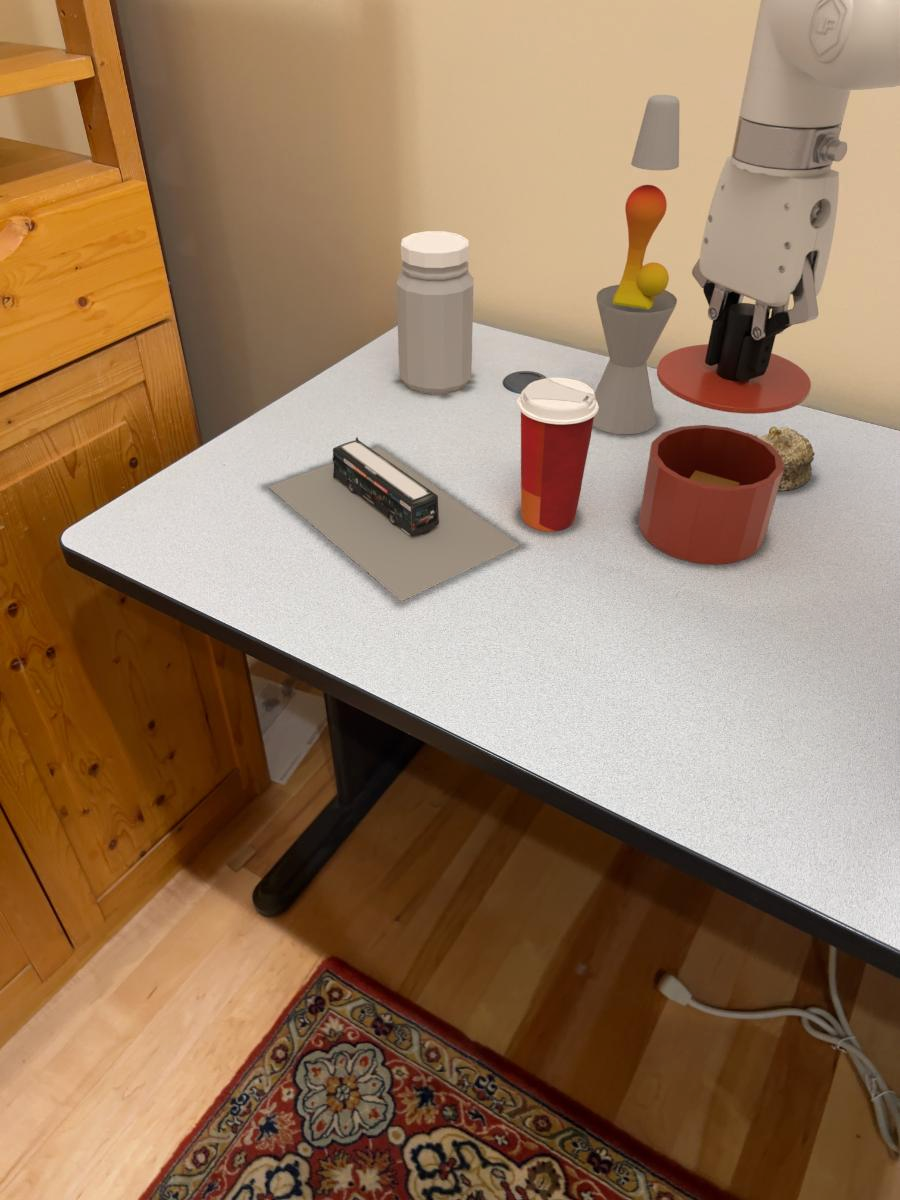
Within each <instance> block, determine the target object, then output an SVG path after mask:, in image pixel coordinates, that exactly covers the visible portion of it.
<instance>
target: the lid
mask: <svg viewBox="0 0 900 1200" xmlns="http://www.w3.org/2000/svg"><path fill="white" fill-rule="evenodd" d="M754 309H755V303H751V302H750V303H749V302H742V303H737V304H733V305H731V306H730V309H729V313H728V318H727V323H726V328H725V332H724V337H723V342H722V347H721V352H720V356H719V361H718V364H716V365H712V366H710V365H708V364H706V363H705V359H706V354H707V349H708V343H707V344H696V345H688V346H685V347H681V348H678V349H675V350H673V351H670V352H668V353H667V354H665V355H664V356H663V357H662V358H660V360H659V362H658V364H657V369H656V376H657V380H658V381H659V384H661V385H662V387H663V388H664V389H665V390H667V391H668V392H669V393H670V394H672V395H674V396H676V397H677V398H679V399H681V400H684V401H685V402H688V403H690V404H693V405H696V406H699V407H702V408H706V409H709V410H715V411H720V412H726V413H731V414H747V415H750V414H751V415H756V414H769V413H770V414H771V413H776V412H783V411H786V410H790V409H792V408H794V407H797V406H798V405H801V404H802V403H804V401H805V400H807V398H808V397H809V395H810V392H811V388H812V381H811V378H810V377H809V375H808V373H807V372H806V371H805V370H804V369H803V368H802V367H800V366H799V365H798V364H796V363H794V362H793V361H791V360H789V359H787V358H785V357H783V356H781V355H778V354H775V353H773V352H771V357H770V361H769V365H768V367H767V369H766V372H765V373H764V375H762V376H759V377H756V378H752V379H749V380H746V381H743V382H742V381H739V380H737V379H736V372H737V367H738V363H739V358H740V354H741V349H742V345H743V340H744V338H745V337H746V336H750V335H752V334H751V330H752V323H753V316H754Z"/></svg>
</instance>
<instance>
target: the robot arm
mask: <svg viewBox="0 0 900 1200" xmlns="http://www.w3.org/2000/svg"><path fill="white" fill-rule="evenodd" d="M754 29H755V30H754V35H753V41H752V45H751V50H750V51H751V52H750V56H749V57H750V58H749V61H748V67H747V72H746V77H745V83H744V89H743V92H742V93H743V94H742V98H741V104H740V109H739V115H738V120H737V125H736V131H735V134H734V135H735V136H734V141H733V147H732V151H731V154H730V155H729V156H727V157H726V160H725V162H724V164H723V167H722V169H721V171H720V174H719V178H718V181H717V183H716V186H715V190H714V193H713V196H712V200H711V203H710V206H709V209H708V214H707V218H706V223H705V226H704V231H703V237H702V240H701V245H700V253H699V258H698V260H697V261H696V262H695V264H694V266H693V267H692V270H691V275H692V277H693V278H694V279H695V281H696V282H697V284H698V285H699V287H700V288H701V289H703V291H702V292H703V294H704V297H705V299H706V301H707V305H708V309H707V316H708V318H709V319H710V320H711V321H712V324H711V329H710V332H709V333H710V334H709V339H708V343H707V344H708V349H707V354H706V359H705V363H706V364H708V365H710V366H712V365H716V364H718V361H719V356H720V352H721V347H722V342H723V337H724V332H725V328H726V323H727V318H728V313H729V309H730V306H731V305H733V304H737V303H743V300H744V297H746V298H748V299H751V300H753V301H755V303H754V304H755V309H754V316H753V323H752V330H751V334H752V335H750V336H746V337H745V338H744V340H743V345H742V349H741V354H740V358H739V363H738V367H737V372H736V379H737V380H739V381H742V382H743V381H746V380H749V379H752V378H756V377H759V376H762V375H764V373H765V372H766V369H767V367H768V365H769V361H770V357H771V353H773V349H774V345H775V340H776V336H777V335H780V334H783V332H784V331H785V330H786V329H788V328H790V327H791V326H794V325H799V324H805V323H807V322H811V321H815V320H816V319H817V318H818V317H819V307H818V299H817V297H818V295H819V294H820V292H821V289H822V287H823V284H824V279H825V276H826V272H827V267H828V263H829V260H830V259H829V258H830V255H831V249H832V244H833V239H834V233H835V228H836V227H835V226H836V220H837V213H838V205H839V204H838V203H839V192H840V191H839V187H840V174H839V171H837V170H835V169H832V165H833V162H836V163H837V162H838V163H839V162H841V161H842V160H843V159H844V158H845V156H846V155H847V151H848V144H847V142H846V141H842V140H841V139H840V134H841V131H842V126H843V122H844V117H845V114H846V110H847V106H848V103H849V99H850V94H851V91H860V90H861V91H862V90H874V89H884V88H885V89H887V88H895V87H899V86H900V0H760V3H759V9H758V15H757V19H756V24H755V28H754ZM791 295H792V300H793V307H792V308H791V309H789V304H790V298H791Z"/></svg>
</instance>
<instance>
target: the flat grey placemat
mask: <svg viewBox="0 0 900 1200" xmlns="http://www.w3.org/2000/svg"><path fill="white" fill-rule="evenodd" d="M268 488H269V489H270V490H271V491H272V492H273V493H274V494H275V495H277V496H278V497H279V498H280V499H281V500H283V501H284V502H285V503H286V504H287V505H289V506H290V507H291V508H292V509H293V510H294V511H295V512H297V514H298V515H300V516H301V517H302V518H303V519H304V520H306V521H307V522H308V523H309V524H310V525H312V526H313V527H314V528H315V529H317V531H318V532H320V533H321V534H322V535H323V536H325V538H327V539H328V540H330V541H331V542H332V543H333V544H334V545H335V546H336V547H337V548H339V549H340V550H341V551H342V552H343V553H344V554H346V555H347V556H348V557H349V558H350V559H351V560H353V562H355V563H356V564H357V565H359V567H361V568H362V570H364V571H365V572H366V573H368V574H369V575H370V576H371V577H373V578H374V579H375V580H376V581H377V582H378V583H380V584H381V586H383V587H384V588H385V589H386V590H388V591H389V592H390V593H391V594H392V595H393V596H394V597H395V598H396V599H398V600H399V601H400V602H403V601H405V600H407V599H409V598H411V597H413V596H415V595H417V594H419V593H422V592H424V591H426V590H428V589H430V588H433V587H435V586H436V585H438V584H440V583H443V582H445V581H447V580H449V579H451V578H453V577H456V576H459V575H460V574H462V573H464V572H466V571H468V570H470V569H472V568H475V567H477V566H479V565H481V564H483V563H485V562H488V561H490V560H492V559H494V558H496V557H498V556H500V555H502V554H505V553H506V552H508V551H510V550H512V549H515V548H517V547H520V544H519V543H518V542H516V541H515V540H513V539H511V538H510V537H509V536H508V535H506V534H505V533H503V532H502V531H501V530H499V529H497V528H496V527H495V526H493V525H491V524H490V523H489V522H487V521H486V520H484V519H483V518H481V517H480V516H478V515H477V514H476V513H474V512H473V511H472V510H470V509H469V508H467V507H465V506H464V505H463V504H461V503H460V502H459V501H457V500H456V499H454V498H452V497H451V496H450V495H448V494H447V493H446V492H444V491H442V490H441V489H440V488H438V487H436V485H434V484H433V483H431V482H430V481H428V480H427V479H425V478H424V477H422V476H421V475H420V474H418V473H417V472H415V471H414V470H412V469H411V468H409V467H408V466H407V465H405V464H403V462H401V461H400V460H397V459H396V458H395V457H394V456H392V455H391V454H389V453H388V452H387V451H385V450H383V449H382V448H380V447H379V446H376V447H374V448H370V447H369V446H368V445H366V444H365V443H364V442H362V441H361V440H359V438H358V436H356V437H355V440H352V441H348V442H345V443H342V444H339V445H338V446H336V447H333V448H332V463H329V464H326V465H324V466H321V467H318V468H316V469H313V470H310V471H307V472H305V473H302V474H299V475H296V476H293V477H291V478H288V479H285V480H282V481H280V482H277V483H275V484H271V485H269V486H268Z"/></svg>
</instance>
